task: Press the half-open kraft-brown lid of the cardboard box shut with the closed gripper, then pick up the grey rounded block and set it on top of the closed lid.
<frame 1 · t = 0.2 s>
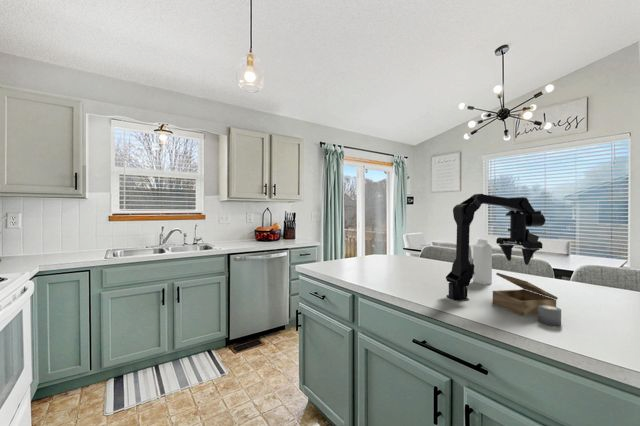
hand: (517, 262, 127), 14 cm above the worktop, tool pointing down, fingers open, 9 cm apart
grey rounded block: (549, 323, 97), on the worktop
box: (522, 308, 111), on the worktop
milk: (482, 283, 149), on the worktop
lid: (525, 285, 111), point 9 cm above the worktop, hinge at 27.0°
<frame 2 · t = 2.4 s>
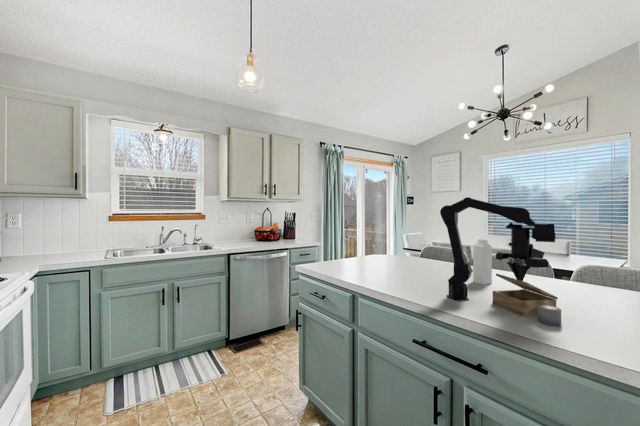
hand: (520, 281, 111), 10 cm above the worktop, tool pointing down, fingers closed, pressing on lid
lid: (525, 285, 111), point 8 cm above the worktop, hinge at 25.4°, touching gripper
everything else where it was.
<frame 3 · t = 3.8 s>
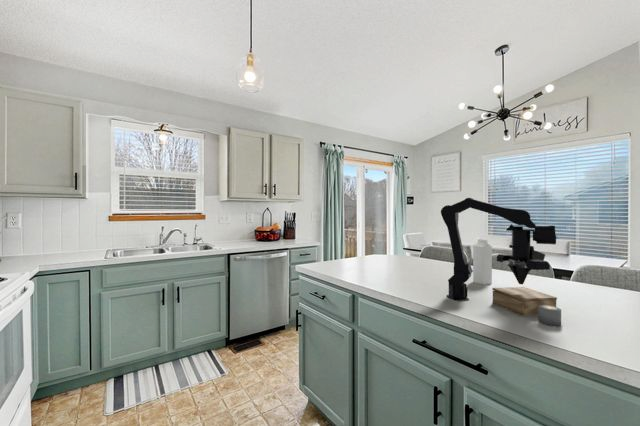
hand: (521, 284, 111), 9 cm above the worktop, tool pointing down, fingers closed
lid: (522, 293, 111), point 6 cm above the worktop, hinge at 0.8°
everything else where it was.
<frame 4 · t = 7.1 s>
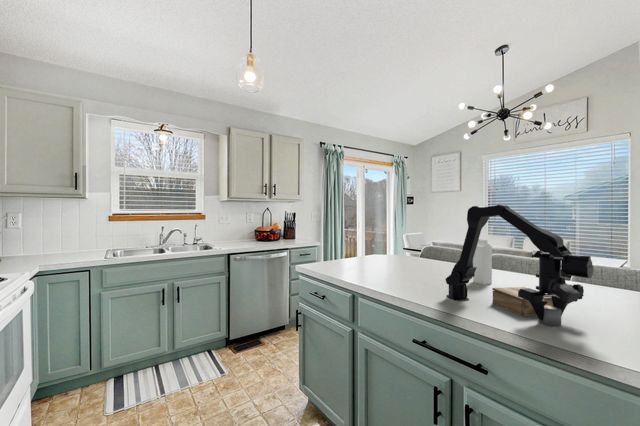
hand: (549, 319, 97), 1 cm above the worktop, tool pointing down, fingers closed on grey rounded block, 6 cm apart
grey rounded block: (549, 322, 97), on the worktop, touching gripper
everything else where it was.
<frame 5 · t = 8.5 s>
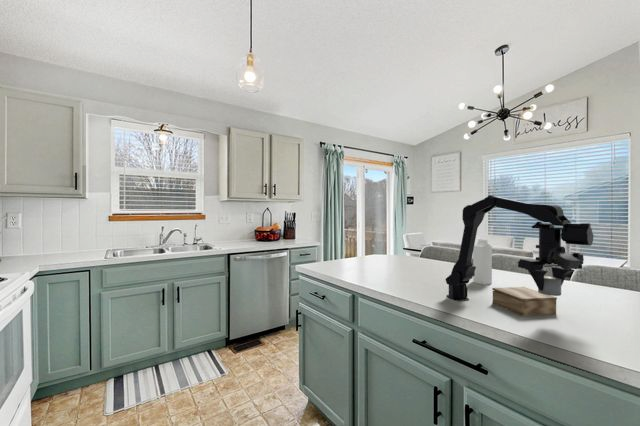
hand: (549, 289, 97), 11 cm above the worktop, tool pointing down, fingers closed on grey rounded block, 6 cm apart
grey rounded block: (549, 293, 97), point 10 cm above the worktop, touching gripper
everything else where it was.
when the fingers open (8 cm above the worktop, at t = 10.4 s): grey rounded block drops 1 cm, resting on lid.
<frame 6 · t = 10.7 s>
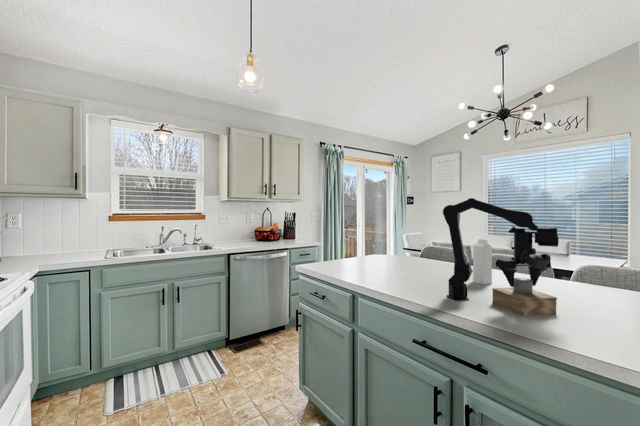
hand: (522, 286, 111), 8 cm above the worktop, tool pointing down, fingers open, 9 cm apart
grey rounded block: (522, 292, 111), point 6 cm above the worktop, touching lid
lid: (522, 293, 111), point 5 cm above the worktop, hinge at -0.1°, touching grey rounded block
everything else where it was.
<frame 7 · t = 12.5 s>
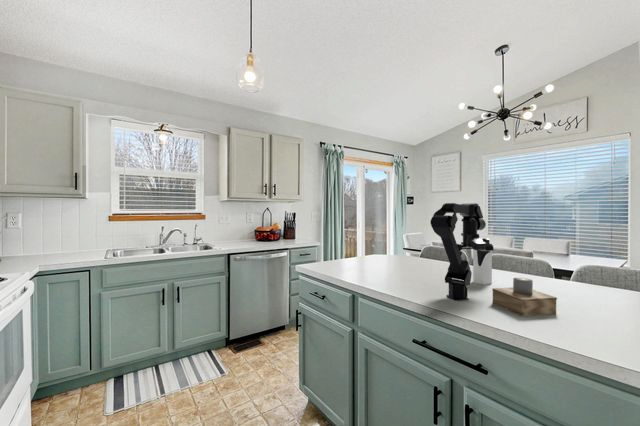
hand: (469, 266, 131), 12 cm above the worktop, tool pointing down, fingers open, 9 cm apart
nothing on the worktop moved.
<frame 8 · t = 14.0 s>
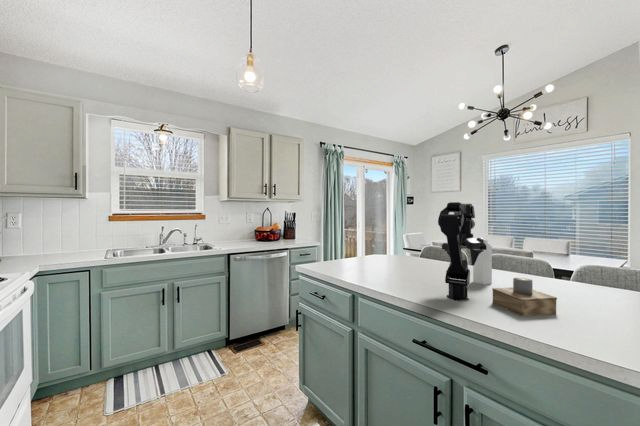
hand: (463, 265, 134), 12 cm above the worktop, tool pointing down, fingers open, 9 cm apart
nothing on the worktop moved.
at the end: lid at +0° (first picture: +27°); grey rounded block inside the target area on the box (0.1 cm from its centre), point 5.9 cm above the box's base; grey rounded block tilted 0° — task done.
